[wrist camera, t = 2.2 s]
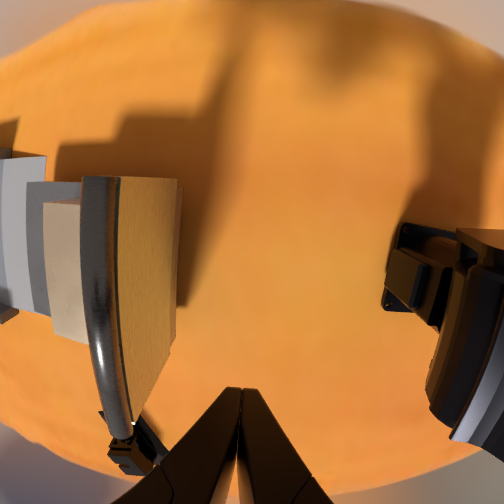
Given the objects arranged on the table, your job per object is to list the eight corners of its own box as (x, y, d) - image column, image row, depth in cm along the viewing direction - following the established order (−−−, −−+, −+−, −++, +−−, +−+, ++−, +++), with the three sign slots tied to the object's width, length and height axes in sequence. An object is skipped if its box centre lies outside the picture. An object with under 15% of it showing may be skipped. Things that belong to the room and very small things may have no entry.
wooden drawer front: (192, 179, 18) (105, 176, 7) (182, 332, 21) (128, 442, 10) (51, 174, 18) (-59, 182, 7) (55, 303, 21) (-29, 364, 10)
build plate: (87, 396, 24) (67, 422, 19) (140, 392, 23) (122, 424, 19) (143, 467, 26) (133, 493, 22) (194, 467, 26) (187, 497, 21)
